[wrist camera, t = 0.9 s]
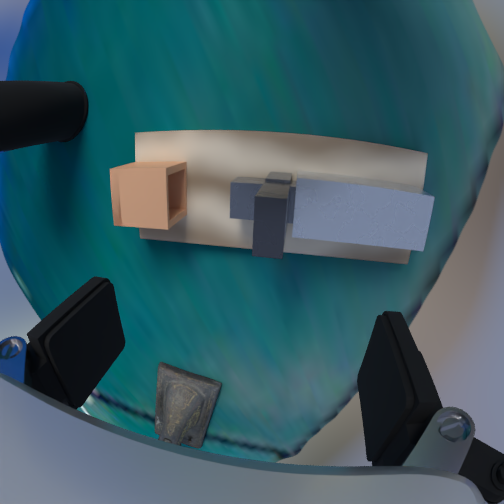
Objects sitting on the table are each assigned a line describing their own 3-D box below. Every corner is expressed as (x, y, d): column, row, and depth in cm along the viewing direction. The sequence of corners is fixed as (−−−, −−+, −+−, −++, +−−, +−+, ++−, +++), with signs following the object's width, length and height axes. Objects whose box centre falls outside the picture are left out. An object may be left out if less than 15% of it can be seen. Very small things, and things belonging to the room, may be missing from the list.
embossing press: (152, 425, 52) (98, 541, 25) (161, 354, 42) (67, 523, 15) (202, 444, 52) (160, 566, 24) (229, 379, 42) (170, 567, 15)
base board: (141, 132, 30) (135, 132, 28) (422, 152, 26) (427, 153, 25) (146, 234, 34) (140, 238, 33) (403, 258, 31) (407, 264, 29)
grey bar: (239, 169, 28) (207, 190, 19) (406, 187, 26) (453, 217, 17) (237, 213, 30) (208, 254, 20) (399, 229, 28) (438, 276, 18)
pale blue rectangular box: (297, 170, 28) (296, 177, 23) (414, 185, 26) (434, 196, 22) (293, 220, 30) (291, 237, 25) (406, 232, 28) (423, 251, 24)
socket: (135, 162, 30) (109, 168, 25) (186, 161, 29) (166, 168, 24) (137, 211, 32) (114, 225, 27) (187, 214, 31) (168, 229, 26)
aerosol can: (74, 68, 27) (-57, 64, 9) (98, 113, 29) (-46, 129, 11) (39, 110, 30) (-80, 129, 12) (60, 154, 32) (-66, 193, 14)
